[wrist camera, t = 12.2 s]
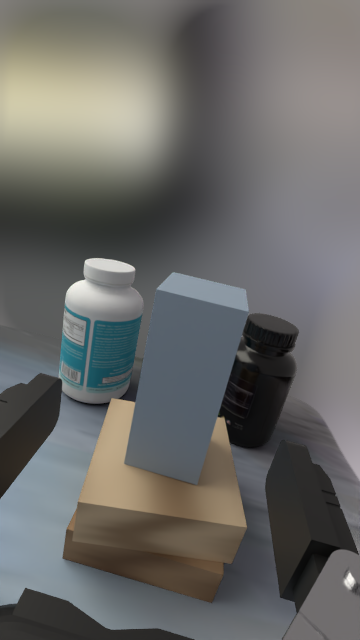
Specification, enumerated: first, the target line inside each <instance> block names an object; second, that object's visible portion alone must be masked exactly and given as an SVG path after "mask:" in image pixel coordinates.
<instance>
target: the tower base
mask: <svg viewBox="0 0 360 640" xmlns="http://www.w3.org/2000/svg"><path fill="white" fill-rule="evenodd" d="M76 511H77V509H76ZM76 511H75V513H74V515H73V517H72V519H71V521H70V523H69V525H68V527H67V530H66V537H65V545H64V552H63V559H66V560H70V561H73V562H76V563H80V564H83V565H86V566H90V567H93V568H96V569H100V570H103V571H106V572H110V573H113V574H116V575H120V576H123V577H127V578H130V579H133V580H137V581H140V582H143V583H147V584H150V585H153V586H157V587H160V588H163V589H167V590H170V591H173V592H177V593H180V594H183V595H187V596H190V597H193V598H197V599H200V600H203V601H207V602H210V603H212V601H213V599H214V596H215V594H216V592H217V589H218V587H219V585H220V582H221V580H222V577H223V565H224V563H223V562H216V561H209V560H202V559H195V558H188V557H181V556H174V555H167V554H159V553H152V552H145V551H138V550H131V549H124V548H117V547H110V546H103V545H96V544H89V543H82V542H75V541H72V538H73V531H74V525H75V518H76Z"/></svg>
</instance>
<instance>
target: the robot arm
mask: <svg viewBox="0 0 360 640" xmlns="http://www.w3.org/2000/svg"><path fill="white" fill-rule="evenodd" d="M61 392H62V379H60V378H57V377H53V376H49V375H46V374H42V373H40V374H38V375H37V376H36V377H35V378H34V379H33V380H31V381H30V382H29V383H28V384H23V383H20V384H17V385H15V386H13V387H10V388H8V389H6V390H5V391H3V392H2V393H1V394H0V498H1V497H2V496H3V495H4V493H5V492H6V491H7V489H8V488H9V487H10V485H11V484H12V483H13V482H14V480H15V479H16V478H17V476H18V475H19V474H20V472H21V471H22V470H23V469H24V467H25V466H26V465H27V463H28V462H29V461H30V459H31V458H32V457H33V456H34V454H35V453H36V452H37V450H38V449H39V448H40V446H41V445H42V444H43V443H44V441H45V440H46V439H47V437H48V436H49V435H50V433H51V432H52V431H53V429H54V427H55V425H56V423H57V420H58V417H59V412H60V402H61ZM265 489H266V498H267V505H268V513H269V520H270V527H271V534H272V541H273V548H274V555H275V563H276V570H277V577H278V584H279V591H280V598H283V599H287V600H290V601H294V602H295V606H296V612H297V614H296V616H295V617H294V619H293V621H292V623H291V624H290V626H289V628H288V630H287V631H286V633H285V635H284V637H283V638H282V640H360V556H359V553H358V551H357V548H356V545H355V543H354V540H353V538H352V535H351V532H350V530H349V527H348V525H347V522H346V519H345V517H344V514H343V511H342V509H340V504H339V501H338V498H337V496H335V494H336V493H335V491H334V488H333V485H332V483H331V480H330V478H329V477H328V476H327V474H326V473H325V472H324V471H323V469H322V468H321V467H320V465H317V464H313V463H312V461H311V458H310V455H309V452H308V449H307V447H306V446H305V445H301V444H298V443H294V442H290V441H287V440H282V441H281V443H280V445H279V447H278V450H277V452H276V454H275V457H274V459H273V462H272V464H271V466H270V469H269V471H268V474H267V478H266V487H265ZM0 640H194V639H191V638H187V637H184V636H181V635H177V634H174V633H171V632H168V631H164V630H161V629H126V630H110V629H107V628H105V627H103V626H102V625H101V624H99V623H98V622H96V621H95V620H94V619H92V618H91V617H89V616H88V615H87V614H85V613H84V612H83V611H81V610H80V609H78V608H77V607H76V606H74V605H73V604H71V603H70V602H69V601H66V600H63V599H60V598H57V597H53V596H50V595H47V594H44V593H40V592H37V591H34V590H30V589H27V588H25V590H24V592H23V593H22V595H21V597H20V599H19V601H18V603H17V604H8V605H2V606H0Z"/></svg>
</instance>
